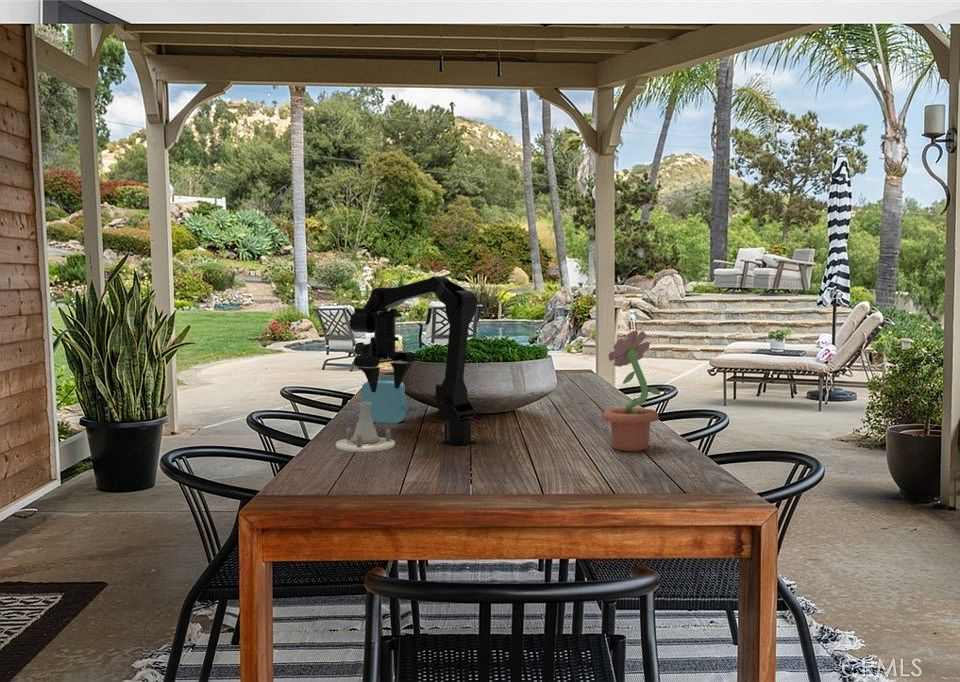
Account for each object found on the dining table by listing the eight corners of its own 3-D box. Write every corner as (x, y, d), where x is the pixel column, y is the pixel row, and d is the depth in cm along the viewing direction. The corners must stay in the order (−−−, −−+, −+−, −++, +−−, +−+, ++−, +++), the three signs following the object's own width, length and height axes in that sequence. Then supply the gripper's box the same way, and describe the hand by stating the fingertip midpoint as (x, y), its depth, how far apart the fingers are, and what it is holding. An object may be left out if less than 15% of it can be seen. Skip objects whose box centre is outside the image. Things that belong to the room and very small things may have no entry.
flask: (377, 444, 229) (376, 405, 229) (348, 444, 230) (348, 405, 229) (382, 439, 237) (381, 401, 236) (354, 439, 237) (353, 400, 236)
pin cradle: (407, 445, 235) (406, 429, 234) (365, 454, 223) (365, 438, 222) (365, 438, 244) (365, 423, 243) (323, 447, 232) (323, 431, 232)
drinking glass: (415, 408, 296) (415, 371, 295) (405, 413, 286) (405, 375, 285) (385, 407, 298) (385, 370, 297) (375, 412, 288) (374, 374, 287)
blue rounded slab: (405, 421, 271) (405, 381, 270) (401, 423, 267) (401, 383, 266) (367, 419, 274) (366, 380, 273) (362, 422, 269) (361, 382, 268)
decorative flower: (639, 441, 239) (640, 327, 236) (673, 450, 227) (674, 330, 224) (591, 446, 232) (592, 329, 230) (623, 456, 220) (625, 332, 217)
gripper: (386, 330, 261) (387, 384, 262) (339, 334, 246) (340, 391, 247) (416, 332, 254) (416, 387, 255) (368, 336, 239) (369, 395, 241)
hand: (385, 390), depth 250 cm, fingers open, 9 cm apart
